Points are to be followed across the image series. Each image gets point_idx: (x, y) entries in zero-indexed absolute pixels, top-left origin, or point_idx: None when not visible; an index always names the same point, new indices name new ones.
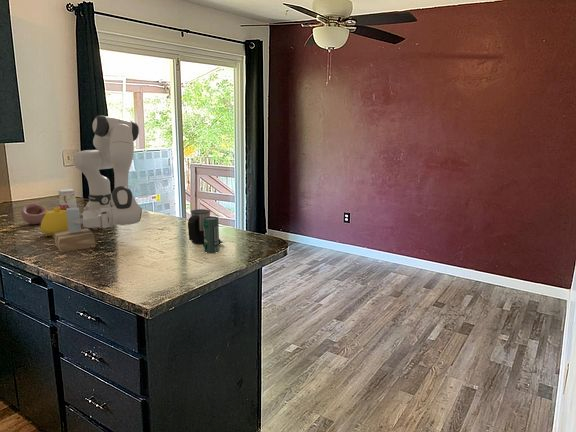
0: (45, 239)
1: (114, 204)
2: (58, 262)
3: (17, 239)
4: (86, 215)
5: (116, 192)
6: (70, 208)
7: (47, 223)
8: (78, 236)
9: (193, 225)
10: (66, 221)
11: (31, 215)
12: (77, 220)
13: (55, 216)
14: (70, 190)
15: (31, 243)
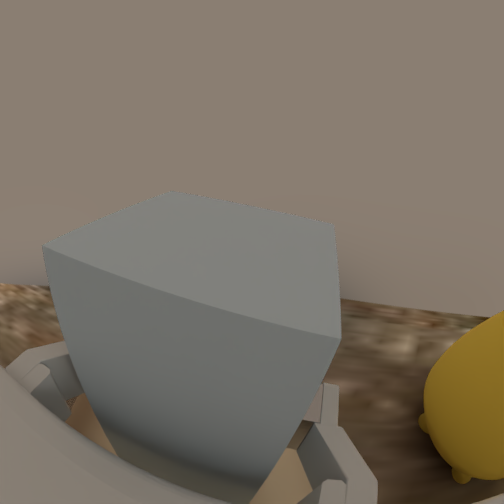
0: (407, 389)
1: None
2: (27, 320)
3: (421, 328)
4: (29, 465)
5: None
6: (274, 227)
7: (456, 343)
8: (78, 423)
9: None
10: (487, 414)
11: None
12: (63, 353)
13: (492, 341)
14: None
15: (361, 349)
